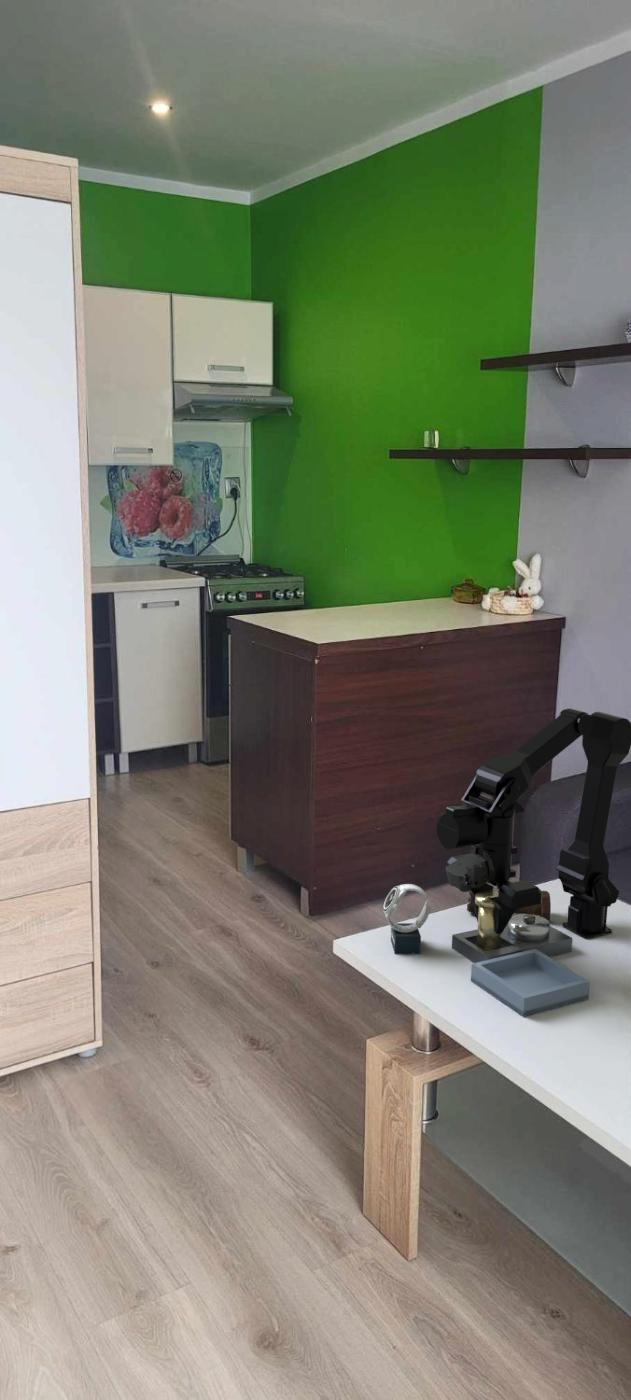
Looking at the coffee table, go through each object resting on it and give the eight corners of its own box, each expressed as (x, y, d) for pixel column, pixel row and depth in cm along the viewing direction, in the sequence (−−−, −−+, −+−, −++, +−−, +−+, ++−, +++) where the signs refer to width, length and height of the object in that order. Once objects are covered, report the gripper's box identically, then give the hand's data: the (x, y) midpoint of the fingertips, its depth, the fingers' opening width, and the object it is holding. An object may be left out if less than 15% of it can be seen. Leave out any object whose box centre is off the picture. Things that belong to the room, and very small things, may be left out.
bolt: (466, 921, 199) (548, 924, 197) (467, 918, 194) (551, 921, 193) (466, 890, 201) (547, 893, 199) (467, 886, 196) (550, 888, 195)
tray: (533, 965, 177) (535, 948, 176) (588, 999, 166) (590, 981, 165) (470, 981, 171) (471, 963, 170) (523, 1016, 159) (524, 998, 159)
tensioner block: (533, 930, 191) (535, 901, 190) (571, 951, 183) (573, 921, 181) (451, 948, 183) (453, 918, 182) (487, 971, 174) (489, 940, 173)
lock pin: (491, 938, 183) (494, 888, 182) (511, 950, 179) (514, 899, 177) (465, 944, 181) (468, 893, 179) (485, 956, 176) (488, 904, 174)
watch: (379, 940, 185) (381, 880, 183) (425, 940, 186) (428, 880, 184) (383, 953, 180) (385, 892, 178) (430, 953, 180) (433, 892, 178)
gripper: (423, 829, 180) (418, 916, 183) (491, 864, 164) (485, 958, 167) (475, 821, 186) (471, 905, 189) (547, 854, 170) (540, 946, 173)
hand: (489, 928), depth 179 cm, fingers closed on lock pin, 5 cm apart
